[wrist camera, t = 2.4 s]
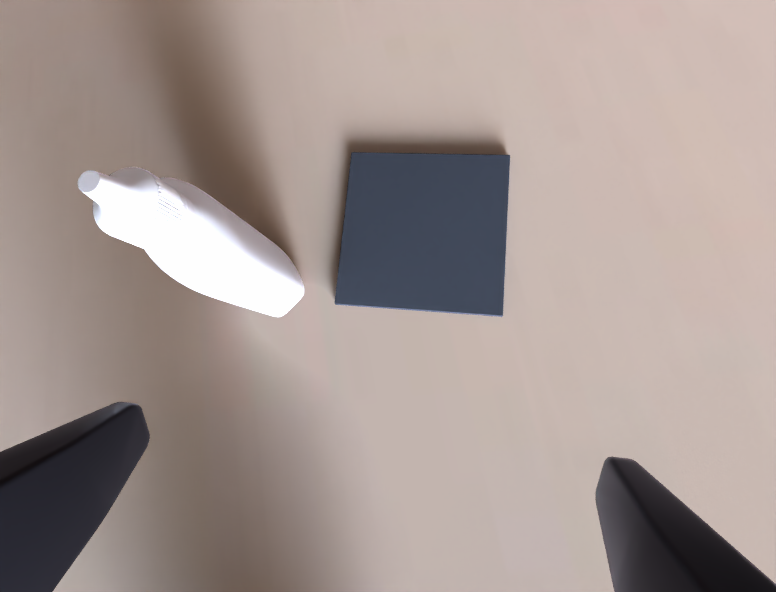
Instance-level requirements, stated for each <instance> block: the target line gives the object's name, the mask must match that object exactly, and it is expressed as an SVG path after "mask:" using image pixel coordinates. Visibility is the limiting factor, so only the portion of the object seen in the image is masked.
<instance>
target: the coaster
mask: <svg viewBox="0 0 776 592" xmlns="http://www.w3.org/2000/svg"><path fill="white" fill-rule="evenodd" d="M509 165H510V155H479V154H422V153H365V152H352V153H351V162H350V171H349V180H348V189H347V198H346V207H345V215H344V224H343V233H342V242H341V251H340V260H339V269H338V278H337V287H336V296H335V304H336V305H348V306H362V307H376V308H390V309H404V310H417V311H431V312H445V313H459V314H473V315H487V316H501V317H502V316H503V299H504V276H505V254H506V232H507V210H508V187H509Z"/></svg>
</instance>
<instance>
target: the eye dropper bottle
mask: <svg viewBox="0 0 776 592" xmlns="http://www.w3.org/2000/svg"><path fill="white" fill-rule="evenodd" d="M78 187H79V189H80V190H81V191H82V192H83V193H84V194H86V195H87V196H88V197H90V198H91V199H92V200H93V214H94V218H95V220H96V223H97V224H98V226H99V227H100V229H102V231H104V232H105V233H107V234H108V235H111V236H113V237H116V238H118V239H121V240H123V241H126V242H128V243H131V244H133V245H136V246H138V247H141V248H143V249H145V251H146V253H147V254H148V255H149V256H150V258H151V259H152V260H153V261H154V262H155V263H156V264H157V265H158V266H159V267H160V268H161V269H162V270H163V271H164V272H165V273H167V274H168V275H169V276H170V277H172V278H173V279H175V280H176V281H178V282H179V283H181V284H183V285H185V286H186V287H188V288H190V289H192V290H195V291H197V292H199V293H202V294H204V295H207V296H210V297H213V298H216V299H219V300H222V301H225V302H228V303H231V304H234V305H238V306H241V307H244V308H247V309H250V310H254V311H257V312H260V313H264V314H267V315H270V316H274V317H281V316H283V315H285V314H286V313H287V312H288V311H289V310H290V309H291V308H292V307H293V306H294V305H295V304H296V303H297V302H298V301H299V300H300V299H301V298H302V296H303V294H304V285H303V282H302V279H301V277H300V275H299V273H298V271H297V269H296V267H295V265H294V264H293V262H292V261H291V260H290V258H289V257H288V256H287V255H286V254H285V252H284V251H283V250H282V249H280V248H279V247H278V246H277V245H276V244H275V243H273V242H272V241H271V240H269V239H268V238H267V237H265V236H264V235H263V234H261V233H260V232H259V231H257V230H256V229H255V228H253V227H252V226H250V225H249V224H248V223H246V222H245V221H244V220H242V219H241V218H240V217H238V216H237V215H236V214H234V213H233V212H232V211H230V210H229V209H228V208H226V207H225V206H223V205H222V204H221V203H219V202H218V201H217V200H215V199H214V198H213V197H211V196H210V195H208V194H207V193H205V192H204V191H202V190H201V189H199V188H198V187H196V186H194V185H192V184H190V183H187V182H185V181H182V180H179V179H176V178H171V177H164V178H158V177H157V176H155V175H154V174H152V173H151V172H149V171H147V170H146V169H143V168H139V167H127V168H123V169H119V170H117V171H115V172H113V173H112V174H110V175H109V176H108V175H105V174H102V173H99V172H96V171H93V170H89V171H86V172H84V173H83V174H82V175H81V176H80V178H79V180H78Z"/></svg>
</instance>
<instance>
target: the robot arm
mask: <svg viewBox="0 0 776 592" xmlns="http://www.w3.org/2000/svg"><path fill="white" fill-rule="evenodd" d="M149 439H150V434H149V430H148V427H147V424H146V421H145V417H144V414H143V411H142V408H141V407H140V406H139V405H138V404H135V403H127V402H117V403H114V404H111V405H109V406H107V407H104V408H102V409H100V410H97V411H95V412H93V413H90V414H88V415H86V416H83V417H81V418H79V419H76V420H74V421H72V422H69V423H67V424H65V425H62V426H60V427H58V428H55V429H53V430H51V431H48V432H46V433H44V434H41V435H39V436H37V437H34V438H32V439H30V440H27V441H25V442H23V443H20V444H18V445H16V446H13V447H11V448H9V449H6V450H4V451H2V452H0V592H52V591H53V590H54V589H55V587H56V586H57V584H58V583H59V582H60V580H61V579H62V577H63V576H64V575H65V573H66V572H67V570H68V569H69V568H70V566H71V565H72V563H73V562H74V561H75V559H76V558H77V556H78V555H79V554H80V552H81V551H82V549H83V548H84V547H85V545H86V544H87V542H88V541H89V540H90V538H91V537H92V535H93V534H94V533H95V531H96V530H97V528H98V527H99V525H100V524H101V522H102V521H103V519H104V518H105V516H106V515H107V513H108V511H109V510H110V508H111V507H112V505H113V503H114V502H115V500H116V498H117V497H118V495H119V493H120V492H121V490H122V488H123V486H124V485H125V483H126V481H127V480H128V478H129V476H130V475H131V473H132V471H133V470H134V468H135V466H136V465H137V463H138V461H139V460H140V458H141V456H142V455H143V453H144V451H145V449H146V448H147V446H148V443H149ZM596 505H597V510H598V515H599V520H600V525H601V529H602V534H603V539H604V544H605V549H606V553H607V558H608V563H609V568H610V573H611V577H612V582H613V587H614V591H615V592H776V584H775V583H774V582H773V581H771V580H770V579H769V578H768V577H767V576H766V575H765V574H764V573H762V572H761V571H760V570H759V569H758V568H757V567H756V566H754V565H753V564H752V563H751V562H750V561H749V560H748V559H746V558H745V557H744V556H743V555H742V554H741V553H740V552H738V551H737V550H736V549H735V548H734V547H733V546H732V545H730V544H729V543H728V542H727V541H726V540H725V539H724V538H723V537H721V536H720V535H719V534H718V533H717V532H716V531H715V530H713V529H712V528H711V527H710V526H709V525H708V524H707V523H705V522H704V521H703V520H702V519H701V518H700V517H699V516H697V515H696V514H695V513H694V512H693V511H692V510H691V509H689V508H688V507H687V506H686V505H685V504H684V503H683V502H682V501H680V500H679V499H678V498H677V497H676V496H675V495H674V494H672V493H671V492H670V491H669V490H668V489H667V488H666V487H664V486H663V485H662V484H661V483H660V482H659V481H658V480H656V479H655V478H654V477H653V476H652V475H651V474H650V473H648V472H647V471H646V470H645V469H644V468H643V467H642V466H640V465H639V464H638V463H637V462H636V461H634V460H632V459H627V458H618V457H608V458H607V459H606V460H605V462H604V464H603V468H602V471H601V475H600V478H599V482H598V485H597V489H596Z"/></svg>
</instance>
